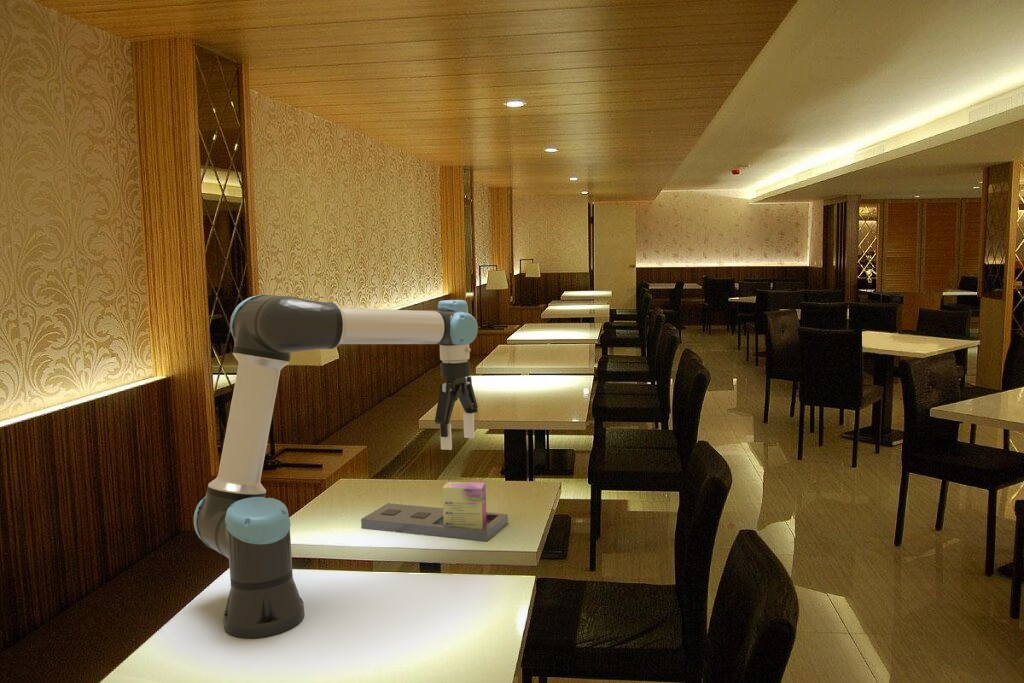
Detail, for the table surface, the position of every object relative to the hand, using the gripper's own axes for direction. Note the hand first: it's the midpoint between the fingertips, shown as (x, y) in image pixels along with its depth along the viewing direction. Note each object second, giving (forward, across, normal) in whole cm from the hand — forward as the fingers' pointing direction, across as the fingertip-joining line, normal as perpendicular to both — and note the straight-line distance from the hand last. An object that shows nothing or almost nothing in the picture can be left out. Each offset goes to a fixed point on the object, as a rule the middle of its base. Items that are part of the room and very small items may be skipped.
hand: (458, 443), depth 204 cm
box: (+23, +1, -1) cm, 23 cm away
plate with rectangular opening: (+23, +1, +8) cm, 24 cm away
